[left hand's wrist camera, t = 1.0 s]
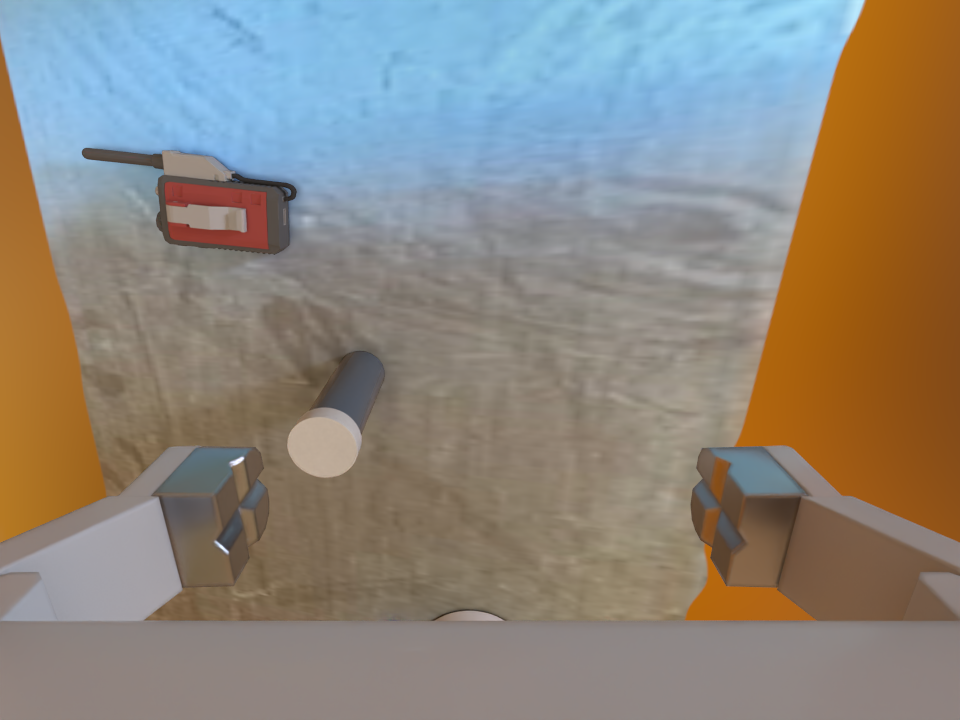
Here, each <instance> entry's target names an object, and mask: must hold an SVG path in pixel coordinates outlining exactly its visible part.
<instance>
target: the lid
mask: <svg viewBox="0 0 960 720" xmlns="http://www.w3.org/2000/svg"><path fill="white" fill-rule="evenodd" d="M287 444H288V451H289V454H290V456H291V458H292V460H293V462H294V463H295V464H296V465H297V466H298V467H299V468H300V469H302V470H303V471H305V472H306V473H308V474H311V475H314V476H317V477H335V476H338V475H341V474H343V473H344V472H346V471H347V470H349V469H350V468H351V466H352V465H353V464H354V462H355V460H356V457H357V455H358V452H359V450H360V447H361V433H360V430H359V428H358V426H357V424H356V423H355V422H354V420H353V419H352V418H351V417H349V416H348V415H347V414H345V413H344V412H342V411H339V410H337V409H333V408H316V409H313V410H310V411H308V412H306V413H305V414H304V415H302V416H301V417H300V418H299V420H298V421H297V423H296V424H295V426H294V427H293V429H292V430H291V432H290V434H289V437H288V442H287Z"/></svg>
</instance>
